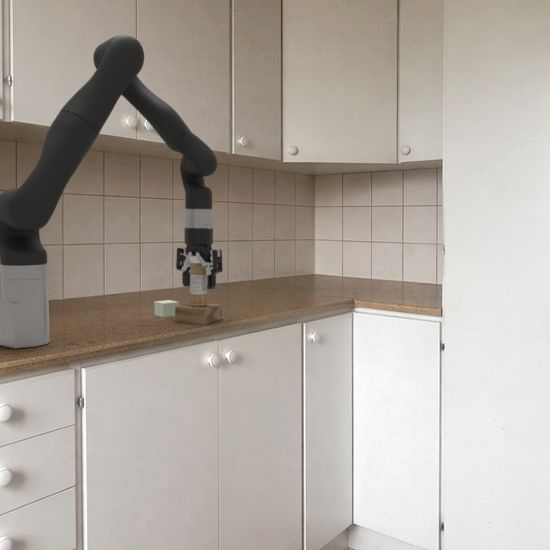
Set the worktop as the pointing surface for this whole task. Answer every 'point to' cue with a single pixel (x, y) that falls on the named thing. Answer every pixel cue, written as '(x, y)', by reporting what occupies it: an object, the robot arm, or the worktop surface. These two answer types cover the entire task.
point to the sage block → (165, 308)
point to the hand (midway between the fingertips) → (198, 287)
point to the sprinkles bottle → (198, 283)
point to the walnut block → (198, 314)
